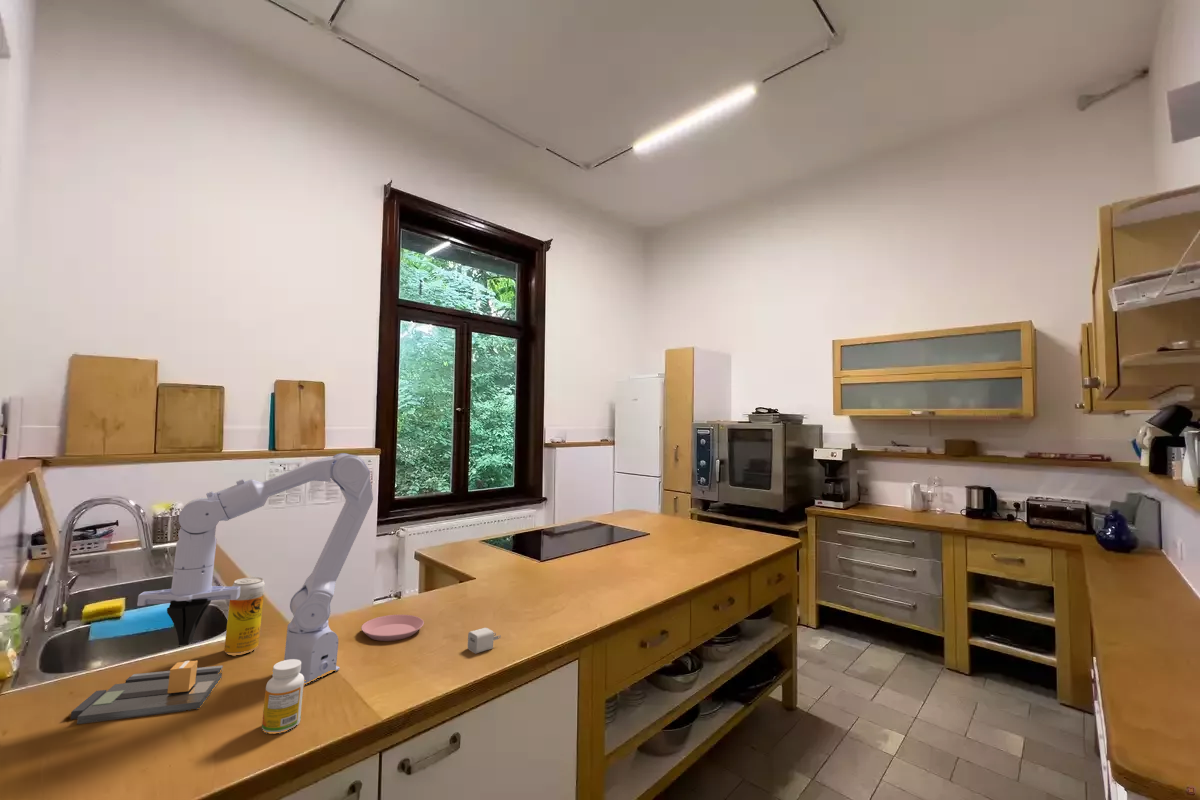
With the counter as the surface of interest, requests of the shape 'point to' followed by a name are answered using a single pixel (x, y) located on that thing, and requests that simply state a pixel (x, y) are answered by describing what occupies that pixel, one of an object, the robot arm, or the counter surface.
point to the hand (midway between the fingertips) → (185, 642)
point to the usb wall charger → (481, 640)
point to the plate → (392, 627)
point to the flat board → (139, 678)
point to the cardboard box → (182, 676)
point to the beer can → (245, 616)
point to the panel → (147, 699)
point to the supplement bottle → (283, 697)
